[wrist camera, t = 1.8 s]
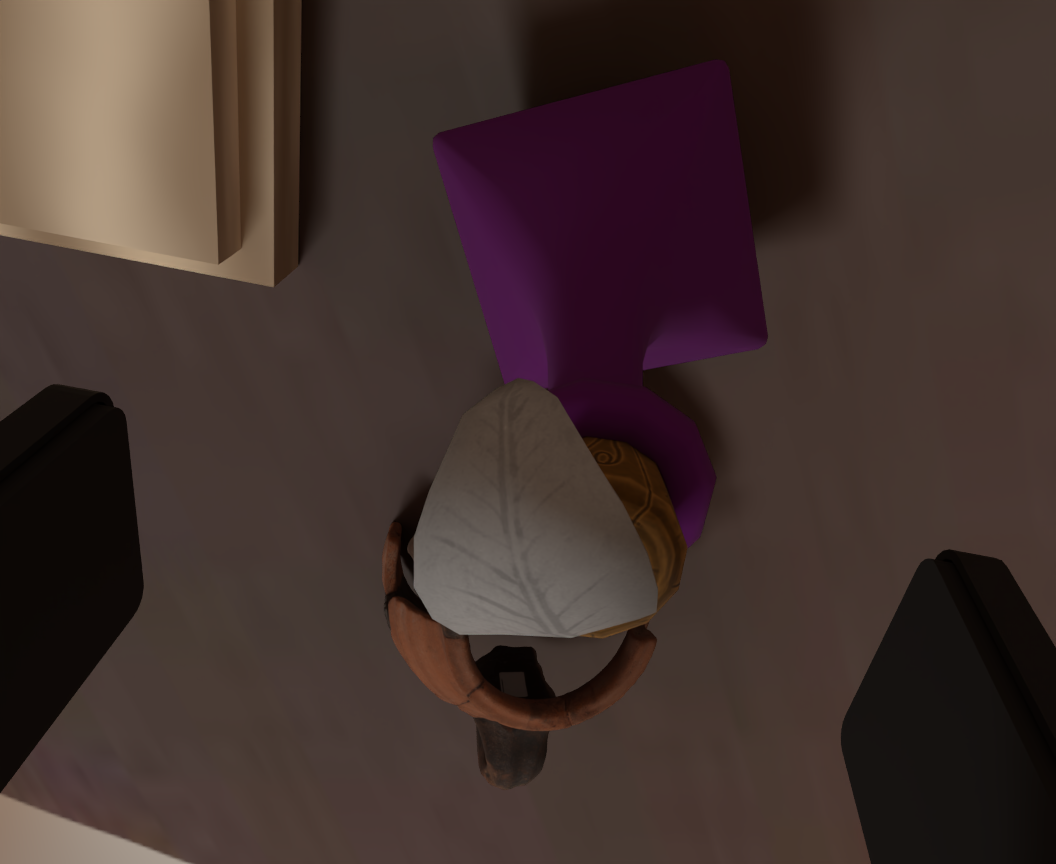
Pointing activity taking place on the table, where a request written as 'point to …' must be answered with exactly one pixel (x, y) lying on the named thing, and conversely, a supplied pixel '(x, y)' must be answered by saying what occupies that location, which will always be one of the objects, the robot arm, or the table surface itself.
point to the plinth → (154, 131)
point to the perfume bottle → (588, 353)
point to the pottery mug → (500, 679)
